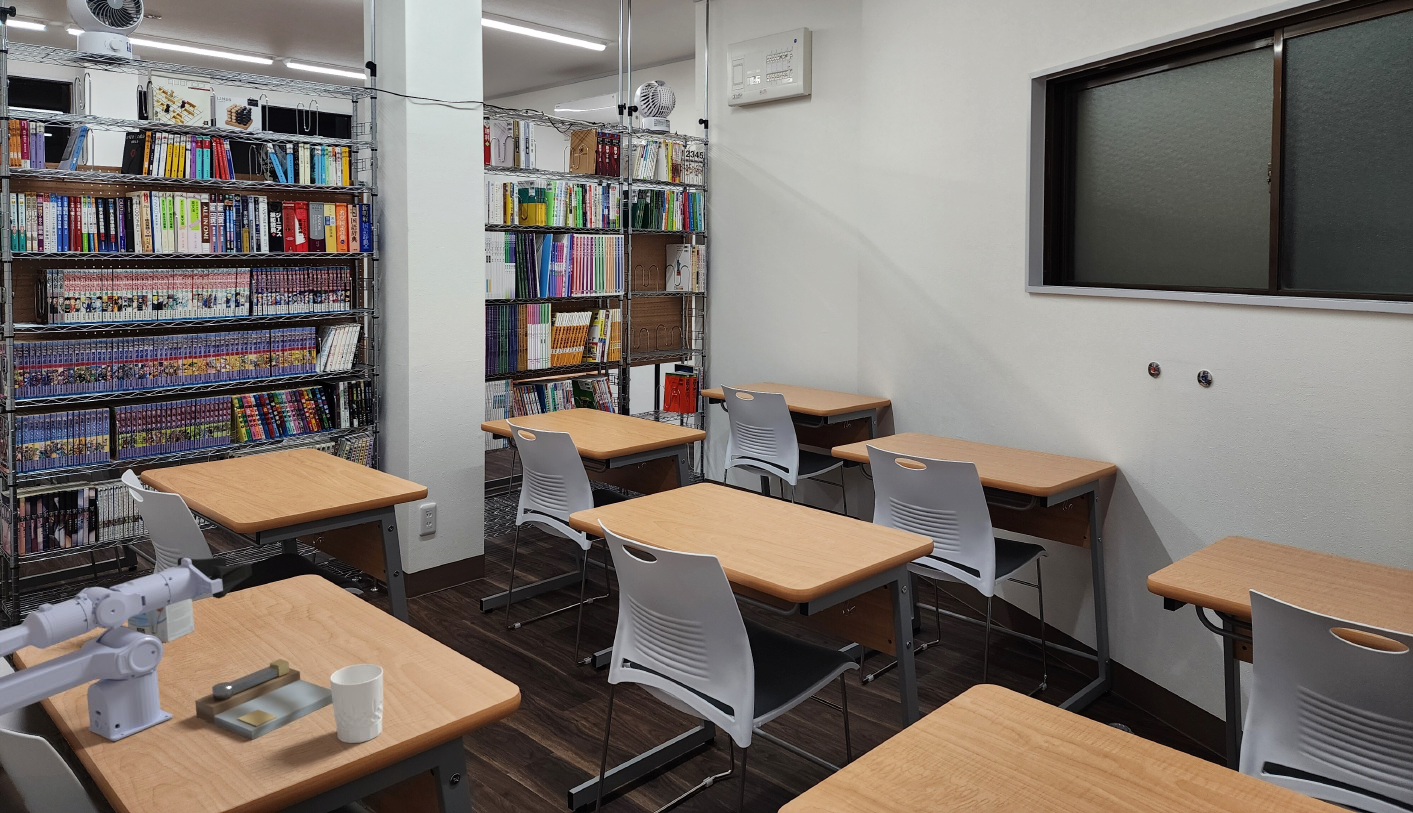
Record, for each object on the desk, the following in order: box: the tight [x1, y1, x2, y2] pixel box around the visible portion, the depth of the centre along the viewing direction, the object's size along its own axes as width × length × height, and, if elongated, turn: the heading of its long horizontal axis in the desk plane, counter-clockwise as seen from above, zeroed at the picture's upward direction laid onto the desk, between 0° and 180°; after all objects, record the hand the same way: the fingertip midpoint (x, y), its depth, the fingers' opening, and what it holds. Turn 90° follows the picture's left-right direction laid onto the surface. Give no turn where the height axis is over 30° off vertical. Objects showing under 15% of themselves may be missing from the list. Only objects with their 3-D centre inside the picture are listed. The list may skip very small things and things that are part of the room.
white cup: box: [329, 663, 384, 744], centre depth 148 cm, size 8×8×10 cm
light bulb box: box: [127, 599, 195, 643], centre depth 190 cm, size 11×7×11 cm, turn 73°
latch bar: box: [211, 658, 290, 700], centre depth 159 cm, size 13×3×2 cm, turn 149°
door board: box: [194, 667, 333, 741], centre depth 157 cm, size 16×15×3 cm
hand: (237, 566), depth 166 cm, fingers open, 7 cm apart
